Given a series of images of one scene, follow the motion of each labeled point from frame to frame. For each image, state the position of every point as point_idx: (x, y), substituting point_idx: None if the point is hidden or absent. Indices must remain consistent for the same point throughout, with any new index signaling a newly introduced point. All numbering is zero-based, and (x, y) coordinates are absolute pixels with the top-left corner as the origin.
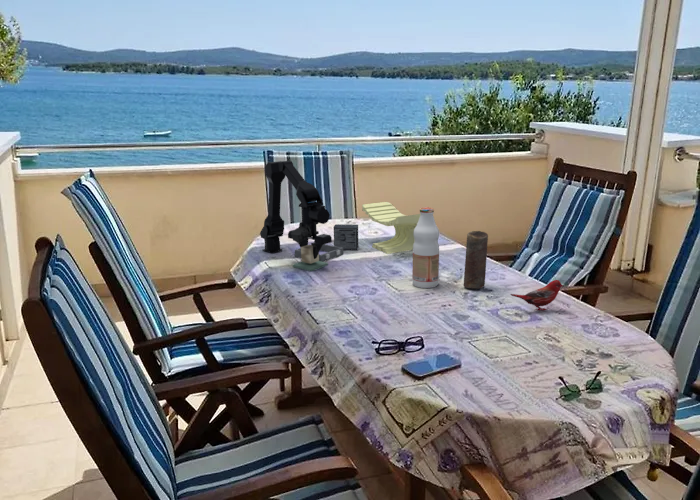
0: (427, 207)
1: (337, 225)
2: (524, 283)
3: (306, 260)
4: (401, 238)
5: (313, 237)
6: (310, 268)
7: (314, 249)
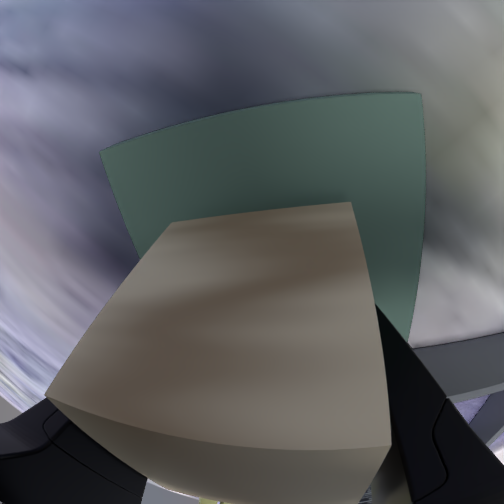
0: None
1: None
2: None
3: (238, 229)
4: None
5: None
6: (113, 152)
7: (51, 404)
